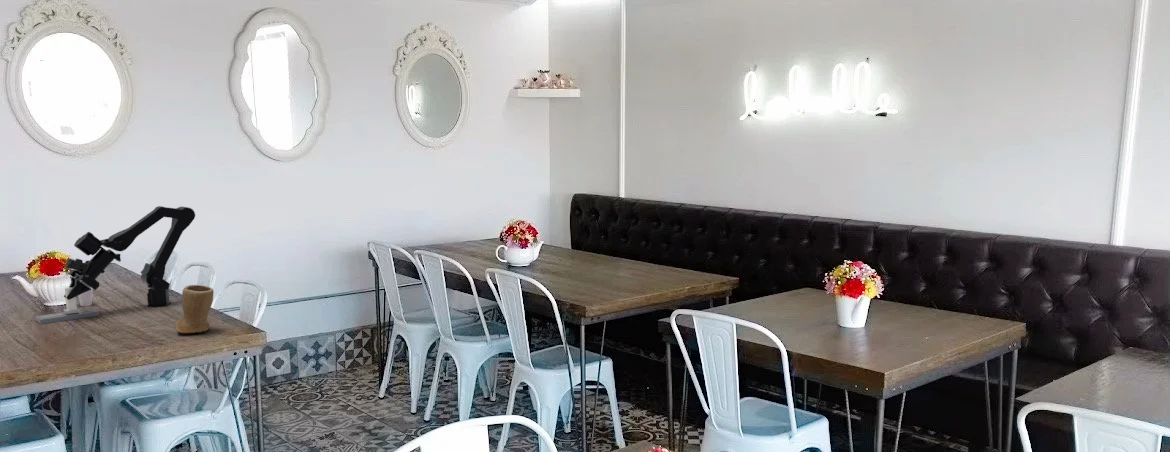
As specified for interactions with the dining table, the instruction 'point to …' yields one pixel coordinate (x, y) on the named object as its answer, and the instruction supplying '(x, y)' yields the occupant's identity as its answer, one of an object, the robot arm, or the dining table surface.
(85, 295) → the smoothie
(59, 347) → the dining table surface
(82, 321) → the dining table surface
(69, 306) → the fader
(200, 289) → the tan boot
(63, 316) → the fader board
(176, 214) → the robot arm
